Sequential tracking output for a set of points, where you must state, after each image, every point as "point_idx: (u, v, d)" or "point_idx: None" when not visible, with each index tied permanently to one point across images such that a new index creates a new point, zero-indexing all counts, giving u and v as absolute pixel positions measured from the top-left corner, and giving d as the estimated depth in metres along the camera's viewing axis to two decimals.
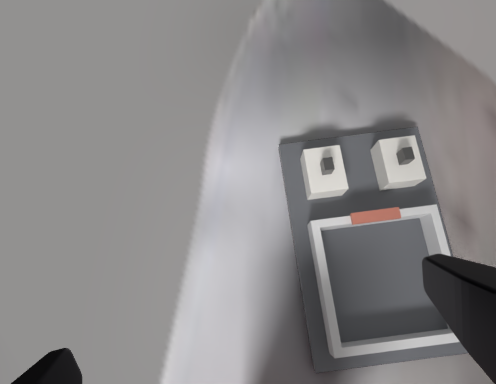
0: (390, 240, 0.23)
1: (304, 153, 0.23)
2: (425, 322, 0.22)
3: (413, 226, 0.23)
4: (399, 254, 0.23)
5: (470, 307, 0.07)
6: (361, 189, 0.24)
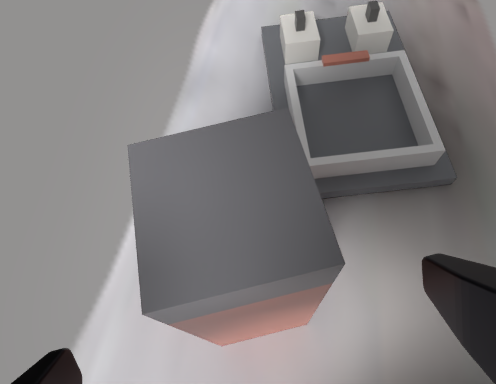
0: (364, 91, 0.24)
1: (281, 18, 0.26)
2: None
3: (386, 80, 0.24)
4: (372, 101, 0.24)
5: (470, 307, 0.07)
6: None
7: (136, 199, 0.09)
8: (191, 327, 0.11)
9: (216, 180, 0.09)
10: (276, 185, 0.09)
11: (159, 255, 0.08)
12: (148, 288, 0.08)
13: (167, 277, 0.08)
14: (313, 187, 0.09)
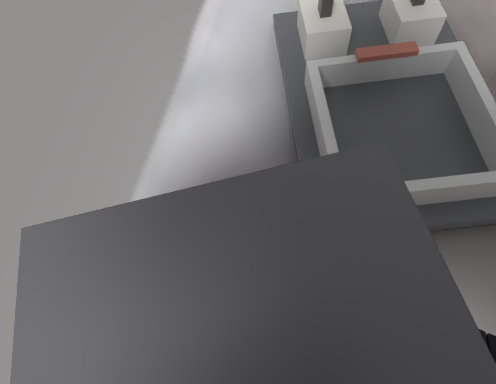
0: (409, 95, 0.19)
1: (299, 2, 0.20)
2: None
3: (436, 81, 0.19)
4: (421, 108, 0.18)
5: None
6: None
7: None
8: None
9: (226, 334, 0.04)
10: (383, 356, 0.03)
11: None
12: None
13: None
14: (487, 368, 0.03)
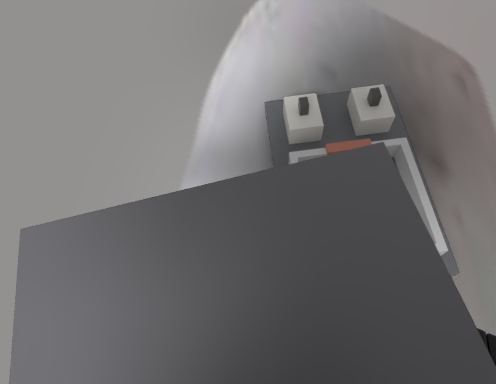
0: None
1: (284, 100, 0.26)
2: None
3: None
4: None
5: None
6: (338, 135, 0.26)
7: None
8: None
9: (225, 336, 0.04)
10: (382, 356, 0.03)
11: None
12: None
13: None
14: (487, 369, 0.03)
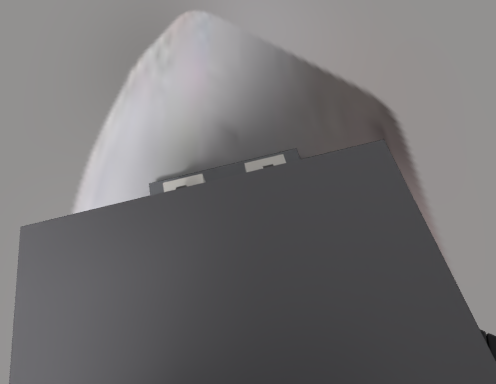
0: None
1: (164, 186, 0.21)
2: None
3: None
4: None
5: None
6: None
7: None
8: None
9: (226, 333, 0.04)
10: (383, 353, 0.03)
11: None
12: None
13: None
14: (488, 366, 0.03)
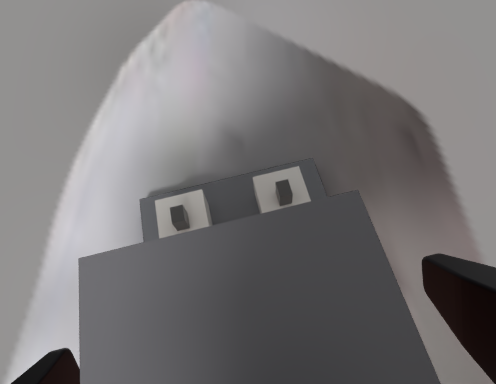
0: None
1: (156, 205, 0.17)
2: None
3: None
4: None
5: (470, 307, 0.07)
6: None
7: (88, 378, 0.05)
8: None
9: (237, 341, 0.05)
10: (351, 356, 0.05)
11: None
12: None
13: None
14: (425, 365, 0.05)
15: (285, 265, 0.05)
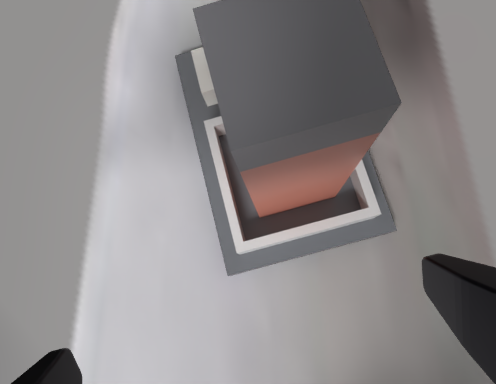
0: None
1: (192, 54, 0.22)
2: (338, 209, 0.21)
3: None
4: None
5: (470, 307, 0.07)
6: None
7: (209, 58, 0.10)
8: (253, 180, 0.13)
9: (281, 37, 0.10)
10: (337, 38, 0.10)
11: (238, 104, 0.10)
12: (233, 131, 0.09)
13: (248, 122, 0.09)
14: (372, 39, 0.10)
15: (304, 3, 0.10)
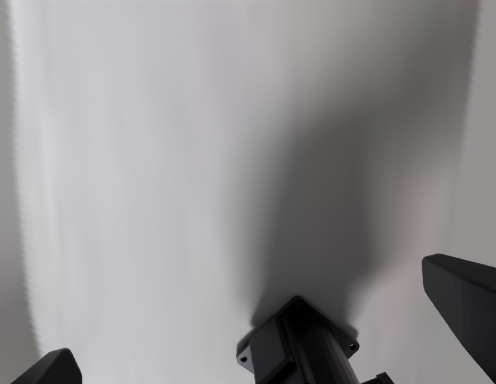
0: None
1: None
2: None
3: None
4: None
5: (470, 307, 0.07)
6: None
7: None
8: None
9: None
10: None
11: None
12: None
13: None
14: None
15: None
